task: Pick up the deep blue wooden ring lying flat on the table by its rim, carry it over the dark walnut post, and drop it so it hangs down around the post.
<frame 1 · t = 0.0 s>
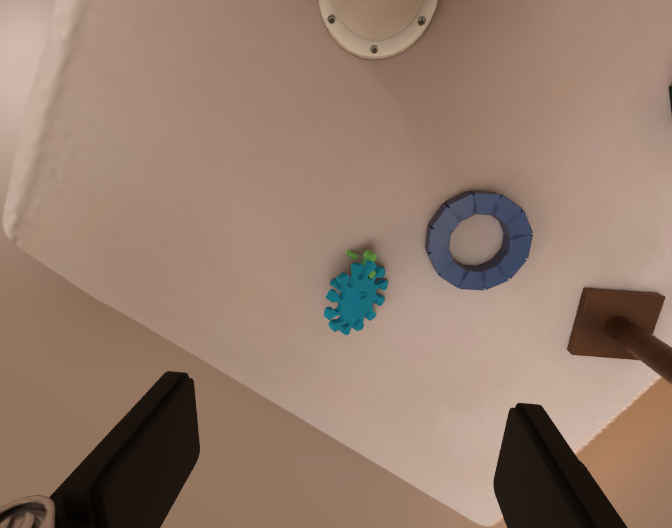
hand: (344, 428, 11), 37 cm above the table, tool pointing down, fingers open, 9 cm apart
ring: (473, 239, 45), on the table
stand: (611, 322, 47), on the table
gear: (359, 282, 48), on the table
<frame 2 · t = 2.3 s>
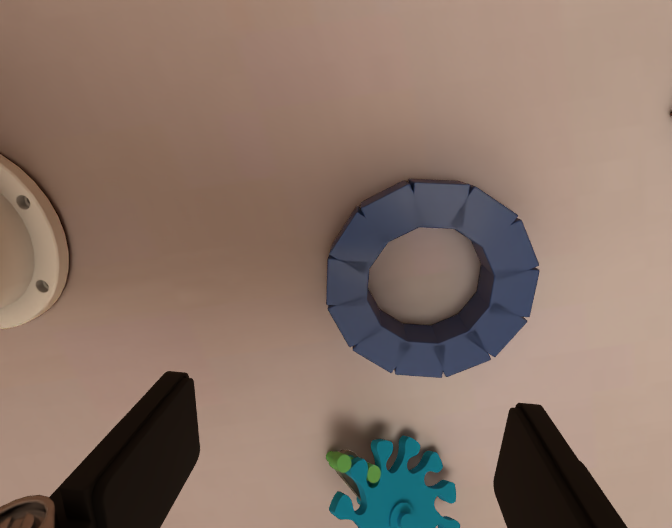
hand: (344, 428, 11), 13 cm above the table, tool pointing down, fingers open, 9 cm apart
ring: (422, 274, 23), on the table
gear: (388, 463, 28), on the table
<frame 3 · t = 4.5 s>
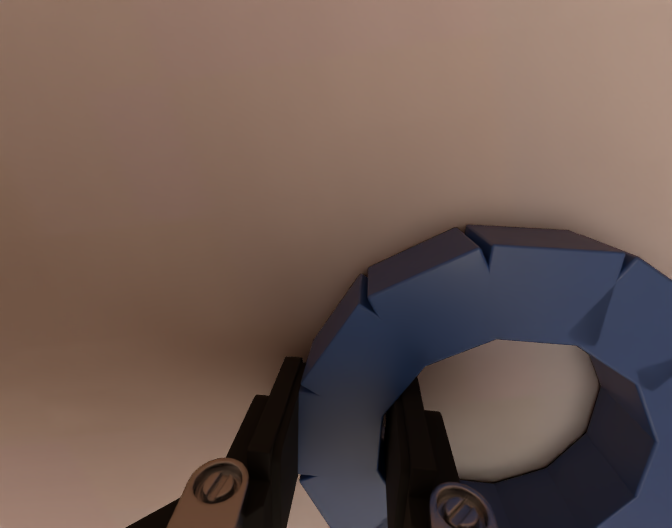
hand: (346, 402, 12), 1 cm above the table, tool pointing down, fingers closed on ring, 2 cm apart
ring: (483, 399, 12), on the table, touching gripper
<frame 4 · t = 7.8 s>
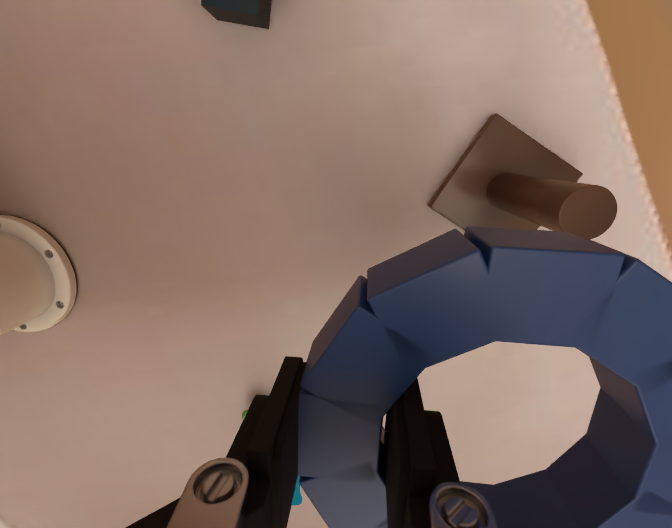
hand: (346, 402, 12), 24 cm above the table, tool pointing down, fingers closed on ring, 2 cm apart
ring: (482, 400, 12), point 23 cm above the table, touching gripper
stand: (499, 189, 32), on the table
when the fingers open (16 cm above the table, at t = 11.6 s): ring drops 14 cm, resting on stand.
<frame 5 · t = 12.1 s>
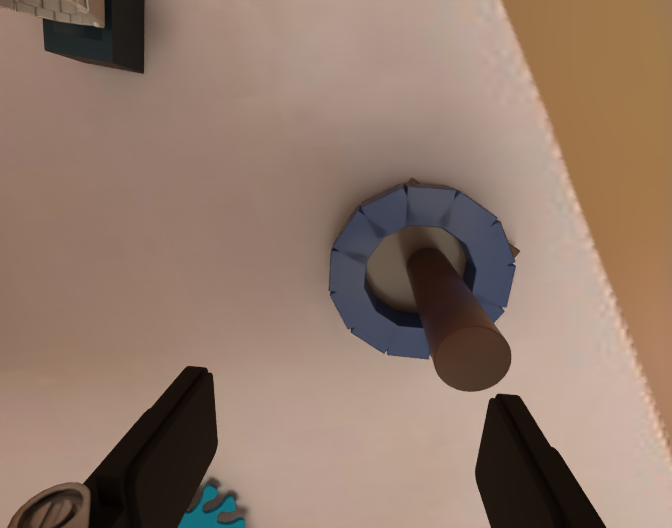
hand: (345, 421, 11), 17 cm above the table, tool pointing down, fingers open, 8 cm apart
ring: (414, 267, 26), point 1 cm above the table, touching stand
stand: (425, 262, 27), on the table
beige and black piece: (113, 23, 24), on the table
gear: (204, 502, 37), on the table
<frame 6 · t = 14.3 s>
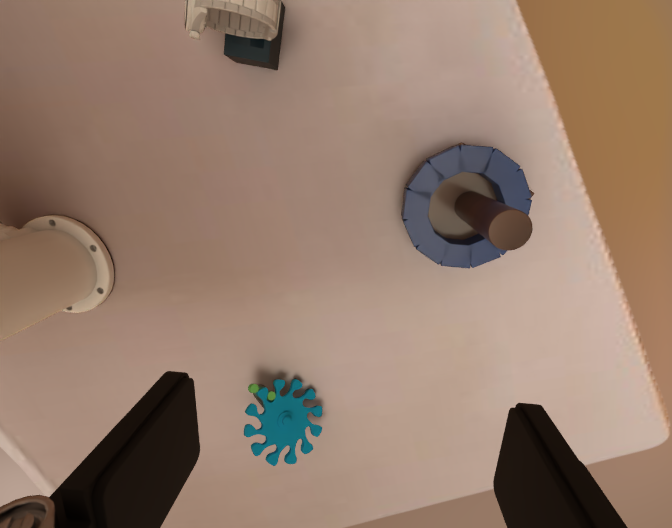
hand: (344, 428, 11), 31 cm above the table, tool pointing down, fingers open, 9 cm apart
ring: (460, 206, 37), point 1 cm above the table, touching stand
stand: (466, 204, 38), on the table
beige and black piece: (259, 36, 36), on the table
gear: (288, 396, 48), on the table
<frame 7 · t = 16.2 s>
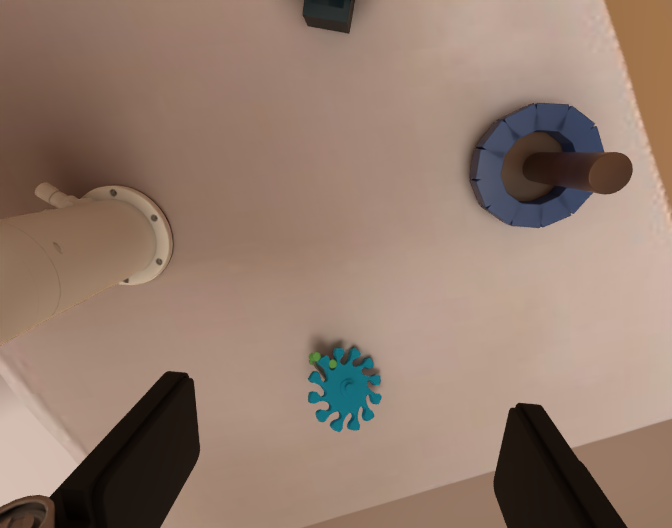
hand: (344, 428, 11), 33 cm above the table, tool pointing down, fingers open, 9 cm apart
ring: (528, 167, 38), point 1 cm above the table, touching stand
stand: (532, 166, 39), on the table
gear: (344, 367, 49), on the table
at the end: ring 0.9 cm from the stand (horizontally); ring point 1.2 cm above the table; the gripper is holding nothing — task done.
